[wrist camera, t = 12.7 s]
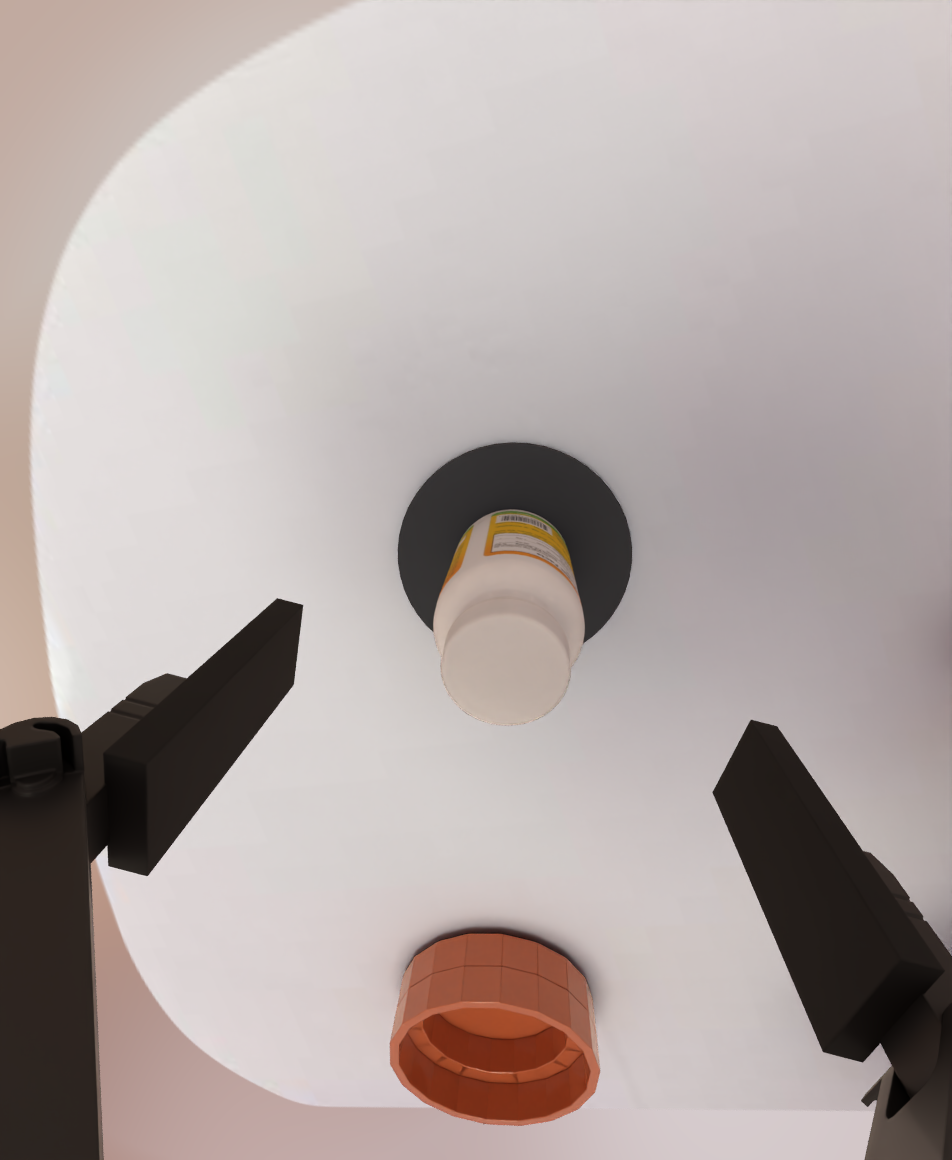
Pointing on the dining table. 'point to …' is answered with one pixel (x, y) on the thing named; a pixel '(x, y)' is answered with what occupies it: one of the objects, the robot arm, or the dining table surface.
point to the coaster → (520, 484)
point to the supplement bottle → (509, 619)
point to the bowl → (495, 1031)
